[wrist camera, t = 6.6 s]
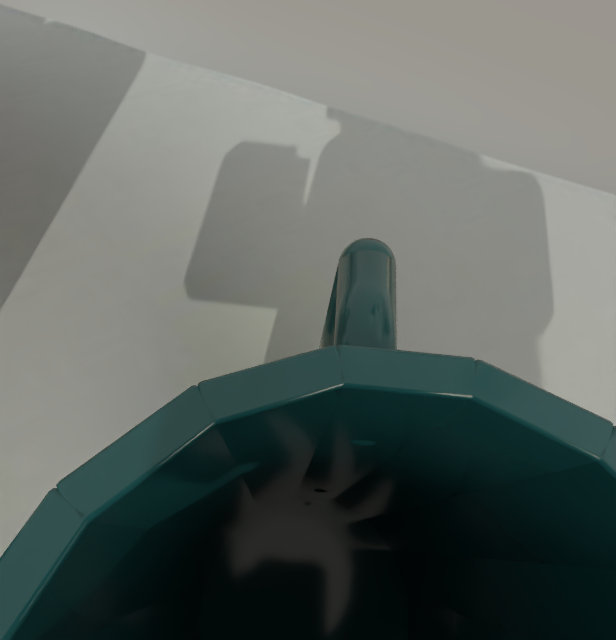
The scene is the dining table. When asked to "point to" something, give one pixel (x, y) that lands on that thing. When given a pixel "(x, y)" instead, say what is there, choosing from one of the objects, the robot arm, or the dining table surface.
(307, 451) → the teal coffee mug
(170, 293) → the dining table surface
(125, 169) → the dining table surface
